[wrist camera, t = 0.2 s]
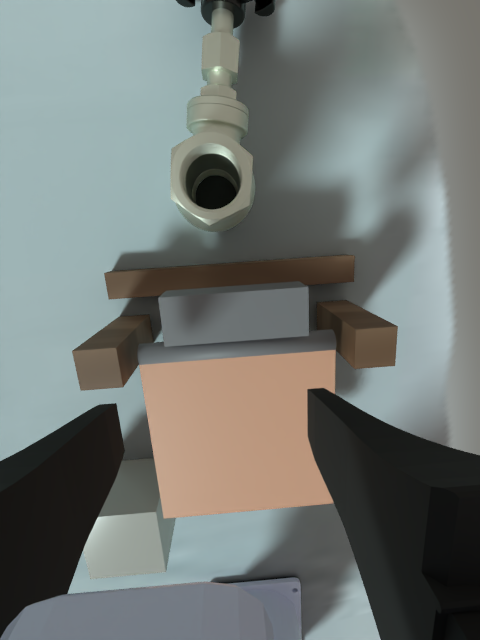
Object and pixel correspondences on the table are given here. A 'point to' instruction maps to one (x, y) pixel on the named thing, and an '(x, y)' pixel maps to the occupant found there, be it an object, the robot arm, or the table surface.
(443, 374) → the table surface
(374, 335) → the frame
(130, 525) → the stone block
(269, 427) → the trapdoor
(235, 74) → the valve
